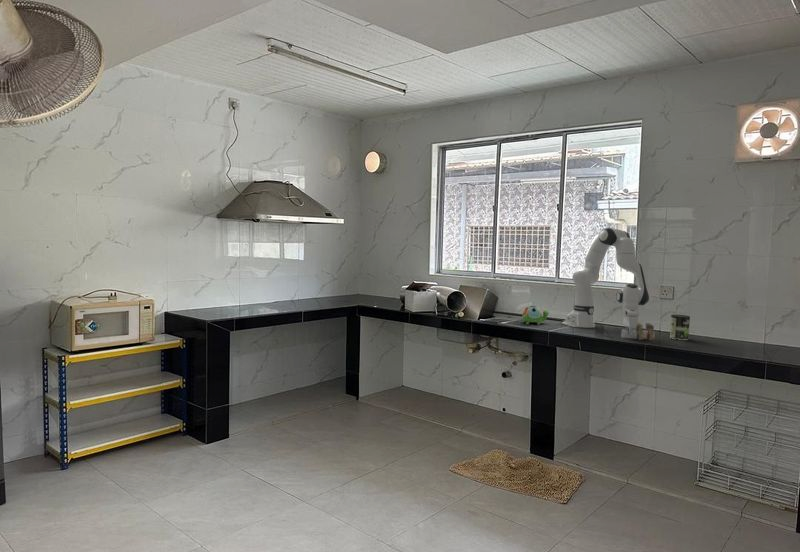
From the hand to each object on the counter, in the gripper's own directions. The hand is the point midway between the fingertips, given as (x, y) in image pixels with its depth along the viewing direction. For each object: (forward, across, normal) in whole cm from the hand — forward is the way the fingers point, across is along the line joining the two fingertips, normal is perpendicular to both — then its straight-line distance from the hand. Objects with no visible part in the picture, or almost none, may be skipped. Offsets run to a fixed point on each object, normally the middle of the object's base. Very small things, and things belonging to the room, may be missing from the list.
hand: (629, 333), depth 335 cm
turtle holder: (+2, -38, -54) cm, 66 cm away
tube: (+2, 0, +5) cm, 6 cm away
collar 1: (+2, 0, +6) cm, 6 cm away
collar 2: (+2, 0, +11) cm, 12 cm away
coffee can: (+3, -6, +30) cm, 31 cm away
